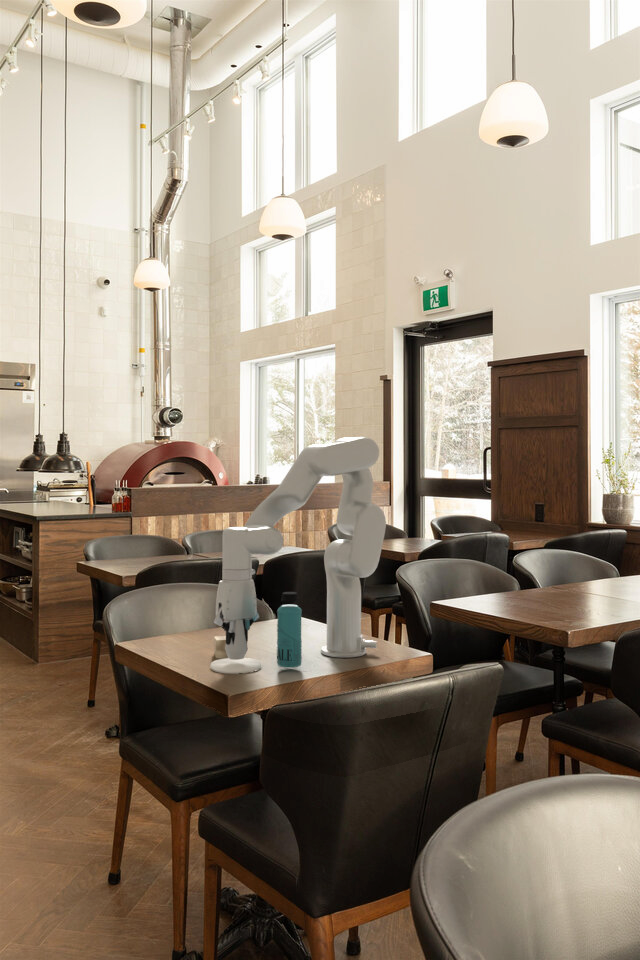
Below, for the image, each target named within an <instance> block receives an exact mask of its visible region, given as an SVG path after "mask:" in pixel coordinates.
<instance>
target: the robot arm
mask: <svg viewBox="0 0 640 960" xmlns="http://www.w3.org/2000/svg"><path fill="white" fill-rule="evenodd" d="M379 457H380V449H379V445H378V443H377V442H376V441H375V440H374V439H372V438H370V437H368V436H367V437H365V436H359V437H358V436H357V437H342V438H339V439H336V440H335V441H334V442H333V443H329V444H328V443H327V444H326V443H325V444H324V443H323V444H321V443H320V444H311V445H308V446H306V447H304V448H303V449H302V450H301V451H300V453H299V454H298V456H297V457H296V460H294V462H293V464H292V465H291V467H290V469H289V470H288V472H287V473H286V475H285V476H284V478H283V479H282V481H281V482H280V484H279V486H278V487H276V489H275V490H273V491H272V492H271V493H270V494H268V496H267V497H266V498H265V499H264V500H262V501H261V502H260V503H259V504H258V506H257V507H256V508H255V509H254V510H253V512H252V513H251V514H250V516H249V517H248V519H247V521H246V522H245V524H244V525H243V526H232V527H226V528H224V529H223V531H222V571H221V572H222V577H221V579H222V580H220V581H219V582H218V586H217V591H216V600H215V617H214V620H213V623H214V624H215V625H218V626H219V627H221V628H222V629H223V631H224V632H225V636H226V644H227V645H229V644H230V643H231V638H232V643H233V644H234V640H235V633H234V632H233V628H234V620H240V619H243V624H244V630H245V638H246V642H247V643H248V641H249V640H248V639H249V631H250V629H251V627H252V626H253V624H254V622H256V621H257V620H258V619H259V618H260V615H259V612H258V610H257V608H258V607H257V594H256V586H255V582H254V579H253V575H255V574H256V570H255V569H253V568H252V566H253V560H252V559H253V555H261V556H272V555H274V554H277V553H278V552H279V551H280V550H281V549H282V548H283V546H284V541H285V540H284V535H283V533H282V532H281V531H280V530H279V529H278V528H276V527H274V526H276V524H277V523H278V522H279V521H280V520H282V518H284V517H285V516H287V515H288V514H290V513H292V512H295V511H297V510H299V509H300V508H301V507H303V506H305V505H306V503H307V502H308V500H309V498H310V497H311V496H312V494H313V492H314V490H315V489H316V487H318V486H317V485H319V483H320V481H321V480H322V478H323V477H334V476H339V475H341V477H342V491H341V495H340V499H339V505H338V510H337V515H336V522H335V523H336V527H337V529H338V530H339V532H340V533H342V534H344V535H347V536H352V539H351V540H350V539H345V538H343V539H342V538H341V539H336V540H333V541H332V542H330V543H329V544H328V546H327V547H326V548H325V551H324V555H323V561H324V570H325V575H326V645H323V646H322V647H320V648H321V649H320V653H321V654H322V655H324V656H328V657H331V658H332V657H333V658H341V659H342V658H345V659H346V658H347V659H348V658H357V657H362V656H364V655H366V654H367V648H369V649H377V648H378V647H377V645H378V644H377V643H378V641H376V640H373V639H371V640H370V639H367V640H366V639H364V638H363V634H362V633H361V632H362V631H361V629H362V628H361V627H362V625H361V624H362V623H361V622H362V616H361V615H362V585H361V580H360V579H361V578H368V577H370V576H371V575H372V574H374V572H375V571H376V569H377V568H378V565H379V562H380V557H381V553H382V548H383V545H384V539H385V535H386V530H387V529H386V527H387V521H386V520H387V519H386V516H385V512H384V510H383V509H382V508H381V507H380V506H379V505H378V504H375V503H372V497H373V491H374V479H373V475H372V472H371V470H370V468H372V467H373V466H374V465H375V464H376V463H377V462H378V460H379ZM222 619H223V620H224V621H223V620H222Z"/></svg>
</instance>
